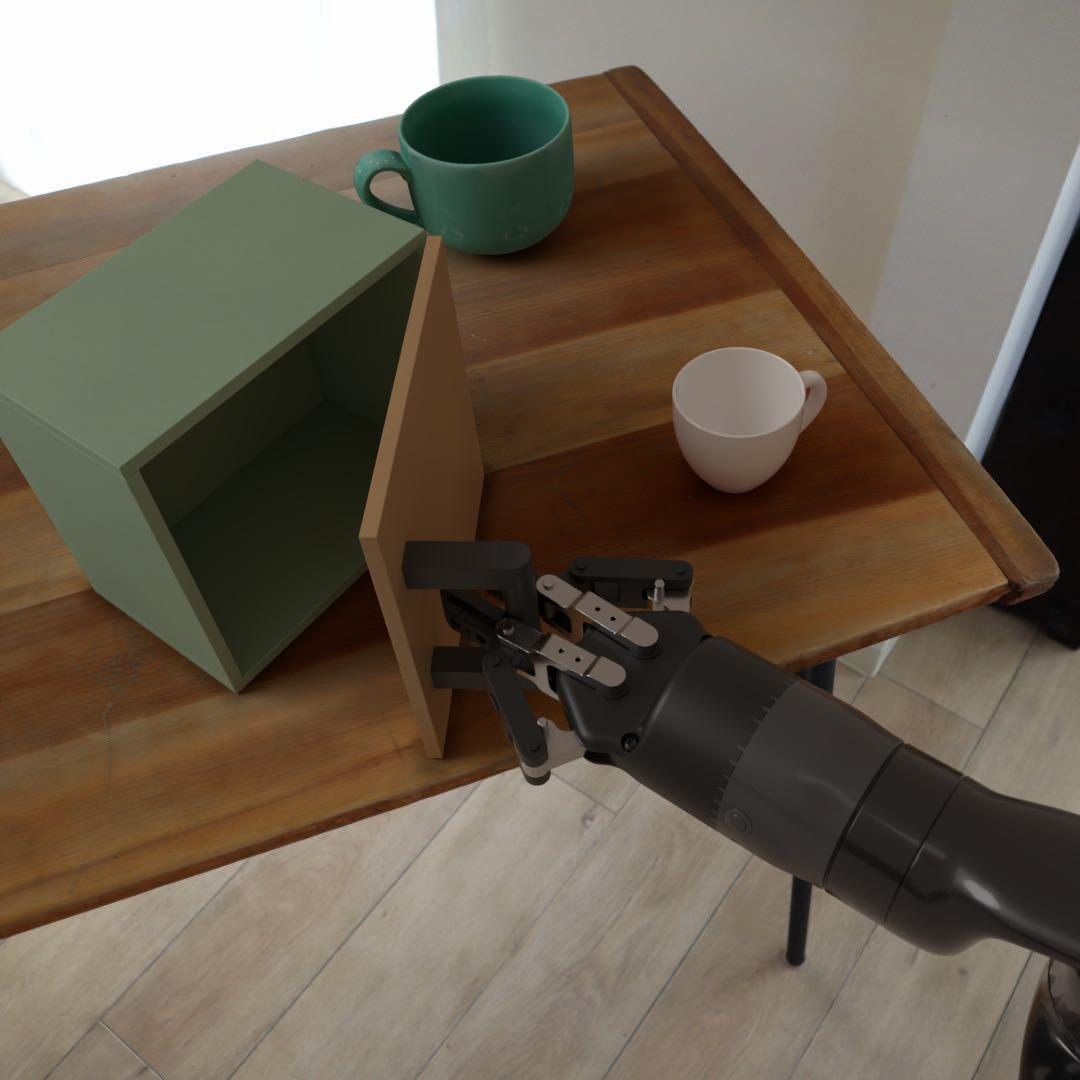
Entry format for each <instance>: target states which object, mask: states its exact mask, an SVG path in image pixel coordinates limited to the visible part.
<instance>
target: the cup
mask: <svg viewBox="0 0 1080 1080" xmlns="http://www.w3.org/2000/svg"><path fill="white" fill-rule="evenodd" d="M827 386H828V385H827V383H826V380H825V379H824V377H823V376H822V374H820V373H819V372H818V371H816V370H812V369H809V370H808V369H807V370H801V371H798V370H797V369H796V368H795V367H794V366H793V365H792V364H791V363H790V362H789V361H787V360H786V359H784V358H783V357H781V356H779V355H777V354H775V353H771V352H769V351H766V350H762V349H759V348H753V347H744V346H738V347H737V346H733V347H722V348H718V349H714V350H710V351H707V352H703V353H702V354H699V355H698V356H696V357H694V358H693V359H691V360H689V361H688V362H687V363H686V364H685V365H683V367H682V368H681V369H680V370H679V371H678V373H677V375H676V376H675V379H674V381H673V384H672V390H671V410H672V411H671V412H672V413H671V414H672V424H673V431H674V435H675V438H676V442H677V445H678V446H679V450H680V452H681V454H682V456H683V458H684V460H685V461H686V463H687V464H688V466H689V467H690V469H691V470H692V471H693V472H694V473H695V474H696V476H698V477H699V478H700V479H701V480H702V481H704V482H705V483H706V484H707V485H708V486H710V487H712V488H713V489H715V490H717V491H718V492H719V491H720V492H722V493H727V494H743V493H747V492H749V491H752V490H754V489H756V488H758V487H759V486H761V485H763V484H764V483H766V482H767V481H769V480H770V479H771V478H772V477H774V476H775V475H776V474H777V473H778V472H779V471H780V469H781V468H782V467H783V466H784V465H785V463H786V462H787V460H788V459H789V458H790V456H791V454H792V453H793V450H794V449H795V446H796V444H797V441H798V439H799V436H800V435H801V434H802V433H803V432H804V431H805V430H806V429H807V428H808V427H809V425H810V424H811V423H812V422H813V421H814V420H815V419H816V418H817V416H818V415H819V414H820V412H821V411H822V409H823V407H824V405H825V402H826V400H827V397H828V396H827V395H828V387H827ZM808 388H809V394H808V397H807V390H806V389H808ZM806 397H807V398H806Z"/></svg>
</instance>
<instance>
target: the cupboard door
mask: <svg viewBox="0 0 1080 1080" xmlns="http://www.w3.org/2000/svg"><path fill="white" fill-rule="evenodd" d="M426 238H427V241H426V246H425V250H424V254H423V259H422V263H421V268H420V272H419V276H418V281H417V285H416V289H415V294H414V298H413V302H412V307H411V311H410V316H409V320H408V324H407V329H406V333H405V337H404V342H403V346H402V350H401V355H400V359H399V364H398V368H397V372H396V377H395V381H394V385H393V390H392V394H391V398H390V403H389V407H388V412H387V416H386V420H385V425H384V429H383V433H382V438H381V442H380V446H379V451H378V455H377V460H376V464H375V468H374V473H373V477H372V481H371V486H370V490H369V494H368V499H367V503H366V508H365V512H364V516H363V521H362V525H361V529H360V534H359V540H360V543H361V546H362V549H363V552H364V556H365V559H366V562H367V565H368V568H369V569H368V571H369V575H370V577H371V581H372V584H373V587H374V591H375V594H376V597H377V600H378V604H379V606H380V609H381V612H382V616H383V619H384V622H385V626H386V629H387V631H388V634H389V638H390V641H391V644H392V648H393V650H394V654H395V657H396V660H397V663H398V667H399V670H400V673H401V676H402V679H403V682H404V686H405V689H406V692H407V695H408V699H409V702H410V705H411V707H412V711H413V714H414V718H415V720H416V724H417V727H418V730H419V733H420V736H421V740H422V743H423V746H424V749H425V752H426V756H427V758H428V759H443V758H444V751H445V745H446V738H447V730H448V723H449V717H450V710H451V703H452V697H453V690H479V691H481V690H483V691H484V690H486V691H487V687H486V682H485V677H484V672H483V667H482V660H483V658H484V656H485V655H486V654H488V653H489V651H488V650H486V649H484V648H483V647H481V646H465V645H463V646H461V645H460V643H461V641H460V640H461V637H462V635H461V633H458V632H456V631H455V630H453V629H452V628H451V627H450V626H449V624H448V623H447V621H446V619H445V614H444V610H443V606H442V601H441V596H440V592H439V591H440V589H455V590H471V591H474V590H475V591H483V590H502V595H503V601H504V603H503V606H504V610H505V611H506V612H507V616H508V618H512V619H515V620H517V621H519V622H521V623H523V624H525V625H527V626H529V627H531V628H532V629H534V630H536V631H538V632H540V633H542V634H544V633H543V627H542V626H543V625H542V620H541V618H540V611H539V604H538V597H537V590H536V583H535V576H534V571H535V570H534V564H533V563H534V562H533V556H532V555H533V554H532V551H531V548H530V547H529V546H528V545H527V544H526V543H524V542H521V541H517V540H516V541H513V540H512V541H507V540H504V541H503V540H502V541H501V540H498V541H497V540H476V534H477V527H478V521H479V514H480V507H481V499H482V494H483V493H482V492H483V486H484V479H485V469H484V464H483V459H482V453H481V447H480V442H479V441H480V440H479V436H478V432H477V431H478V430H477V429H478V428H477V424H476V418H475V413H474V406H473V402H472V395H471V389H470V384H469V379H468V373H467V369H466V368H467V367H466V363H465V362H466V361H465V356H464V351H463V345H462V340H461V339H462V338H461V334H460V326H459V322H458V316H457V312H456V311H457V310H456V304H455V299H454V294H453V287H452V283H451V277H450V272H449V265H448V261H447V253H446V249H445V244H444V242H443V237H442V236H432V235H428V236H426ZM516 677H517V679H518V682H519V684H520V686H521V688H522V690H523V691H527V692H528V691H532V692H533V691H540V689H539V688H538V687H537V685H536V684H535V683H534V682H533V681H531V680H529V679H527V678H526V677H524V676H522V675H520V674H518V673H517V674H516Z"/></svg>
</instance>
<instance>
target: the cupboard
mask: <svg viewBox="0 0 1080 1080" xmlns="http://www.w3.org/2000/svg"><path fill="white" fill-rule="evenodd" d="M426 241H427V234H426V231H425V229H423V228H421V227H418V226H416V225H413V224H411V223H409V222H406V221H404V220H401V219H399V218H397V217H394V216H392V215H389V214H387V213H385V212H382V211H380V210H378V209H375V208H373V207H370V206H368V205H366V204H363V203H362V201H358V200H356V199H353V198H351V197H349V196H346V195H344V194H342V193H339V192H338V191H334V190H332V189H330V188H327V187H325V186H323V185H320V184H317V183H315V182H314V181H310V180H308V179H306V178H304V177H301V176H298V175H296V174H294V173H291V172H290V171H287V170H284V169H282V168H280V167H277V166H274V165H273V164H270V163H267V162H266V161H263V160H260V159H257V158H256V159H255V160H253V161H252V162H250V163H249V164H248V165H246V166H245V167H243V168H241V169H240V170H239V171H237V172H236V173H234V174H233V175H231V176H229V177H228V178H227V179H225V180H224V181H222V182H221V183H219V184H218V185H216V186H215V187H214V188H212V189H210V190H209V191H207V192H206V193H204V194H203V195H202V196H201V195H200V197H198V198H197V199H195V200H194V201H193V202H191V203H189V204H188V205H186V206H185V207H184V208H182V209H181V210H179V211H178V212H176V213H175V214H173V215H172V216H170V217H169V218H167V219H165V220H164V221H162V222H161V223H160V224H158V225H157V226H155V227H154V228H152V229H151V230H149V231H148V232H146V233H145V234H143V235H141V237H139V238H137V239H135V241H133V242H131V243H130V244H128V245H127V246H125V247H124V248H123V249H120V250H119V251H118V252H116V253H114V255H112V256H111V257H109V258H107V259H106V260H105V261H103V262H102V263H100V264H99V265H97V266H95V267H94V268H93V269H91V270H89V271H88V272H87V273H85V274H84V275H82V276H81V277H78V279H76V280H75V281H73V282H72V283H70V284H68V285H67V286H66V287H64V288H63V289H61V290H60V291H59V292H57V293H55V294H54V295H52V296H51V297H49V298H48V299H46V300H45V301H43V302H42V303H41V304H39V305H38V306H36V307H35V308H33V309H32V310H30V311H29V312H27V313H25V314H24V315H23V316H21V317H20V318H18V319H17V320H15V321H14V322H12V323H11V324H9V325H8V326H7V327H4V328H3V329H2V330H1V331H0V440H1V441H2V442H3V444H4V446H5V447H6V449H7V451H8V453H9V454H10V455H11V457H12V459H13V460H14V462H15V463H16V465H17V467H18V468H19V470H20V472H21V474H22V475H23V476H24V478H25V480H26V481H27V483H28V485H29V486H30V488H31V490H32V492H33V493H34V495H35V496H36V498H37V500H38V501H39V502H40V504H41V506H42V507H43V509H44V510H45V512H46V514H47V516H48V518H49V520H51V522H52V524H53V525H54V527H55V529H56V530H57V532H58V533H59V535H60V537H61V538H62V540H63V541H64V544H65V545H66V546H67V548H68V550H69V552H70V553H71V554H72V556H73V558H74V559H75V561H76V563H77V564H78V566H79V568H80V569H81V571H82V573H83V574H84V577H86V579H87V581H88V582H89V584H90V586H91V587H92V589H93V590H94V592H95V593H97V594H98V595H99V596H101V597H102V598H103V599H105V600H107V602H108V603H111V605H113V606H114V607H116V608H117V609H118V610H120V611H122V612H123V613H124V614H126V615H127V616H128V617H130V618H131V619H132V620H134V621H135V622H137V623H138V624H139V625H141V626H142V627H143V628H145V630H148V632H151V633H152V634H153V635H154V636H156V637H157V638H159V640H161V641H163V642H164V643H166V644H167V645H168V646H170V647H171V648H172V649H174V650H175V651H177V652H178V653H179V654H180V655H182V656H184V657H185V658H186V659H187V660H189V661H190V662H192V663H193V664H195V665H196V666H197V667H198V668H200V669H201V670H203V671H204V672H205V673H206V674H208V675H210V676H211V677H212V678H213V679H214V680H217V681H218V682H219V683H220V684H222V685H223V686H225V687H226V688H228V689H229V690H230V691H231V692H233V693H234V694H236V695H238V694H239V693H240V692H241V691H242V690H243V689H244V688H245V687H246V686H248V684H250V683H251V681H253V680H254V679H255V678H256V677H257V676H258V675H259V674H260V673H261V672H262V671H264V669H265V668H266V667H267V666H268V665H269V664H271V662H272V661H273V660H275V659H276V658H277V657H278V656H279V655H280V653H282V652H283V651H284V650H285V649H287V648H288V646H289V645H291V643H292V642H294V641H295V640H296V639H297V638H298V637H299V636H300V635H301V634H302V633H303V632H305V630H306V629H307V628H308V627H310V626H311V624H312V623H314V621H315V620H316V619H318V618H319V617H320V616H321V615H322V614H323V613H324V612H325V611H326V610H327V609H328V608H329V607H330V606H331V605H332V604H333V603H335V601H336V600H338V599H339V598H340V596H342V595H343V594H344V593H345V592H346V591H347V590H348V589H349V588H350V587H351V586H352V585H353V584H354V583H356V581H358V580H359V579H360V578H361V577H362V576H363V575H364V574H365V573H366V572H367V571H369V568H368V565H367V562H366V559H365V556H364V552H363V549H362V546H361V543H360V540H359V534H360V529H361V525H362V521H363V516H364V512H365V508H366V503H367V499H368V494H369V490H370V486H371V481H372V477H373V473H374V468H375V464H376V460H377V455H378V451H379V446H380V442H381V438H382V433H383V429H384V425H385V420H386V416H387V412H388V407H389V403H390V398H391V394H392V390H393V385H394V381H395V377H396V372H397V368H398V364H399V359H400V355H401V350H402V346H403V342H404V337H405V333H406V329H407V324H408V320H409V316H410V311H411V307H412V302H413V298H414V294H415V289H416V285H417V281H418V276H419V272H420V268H421V263H422V259H423V254H424V250H425V246H426Z"/></svg>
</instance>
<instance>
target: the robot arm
mask: <svg viewBox="0 0 1080 1080" xmlns="http://www.w3.org/2000/svg"><path fill="white" fill-rule="evenodd" d="M534 576H535V583H536V590H537V597H538V604H539V611H540V618H541V622H543V623H545V624H546V625H548V626H550V627H551V628H552V629H553V630H555V631H557V632H558V633H560V634H562V635H563V636H564V637H566V638H567V639H569V640H567V639H565V638H563V637H561V636H559V635H557V634H555V633H554V632H547V633H546V634H545V633H543V634H542V633H540V632H538V631H536V630H534V629H532V628H531V627H529V626H527V625H525V624H523V623H521V622H519V621H517V620H515V619H512V618H508V616H507V612H506V611H505V609H504V608H502V607H500V606H498V605H496V604H494V603H493V602H491V601H490V600H488V599H486V598H485V597H482V596H481V595H479V594H478V593H476V592H474V591H473V590H455V589H440V591H439V592H440V596H441V601H442V606H443V610H444V614H445V619H446V621H447V623H448V624H449V626H450V627H451V628H452V629H453V630H455V631H456V632H458V633H461V636H462V637H465V638H467V639H468V640H470V641H471V642H473V643H475V644H476V645H477V646H478V647H483V648H484V649H486V650H488V651H489V653H488V654H486V655H485V656H484V658H483V660H482V667H483V672H484V677H485V682H486V687H487V690H486V692H487V695H488V697H489V699H490V702H491V704H492V707H493V709H494V711H495V713H496V716H497V718H498V720H499V723H500V725H501V727H502V729H503V730H502V731H503V732H504V734H505V736H506V738H507V741H508V744H509V745H510V748H511V750H512V752H513V754H514V757H515V759H516V762H517V764H518V766H519V769H520V770H521V773H522V775H523V778H524V780H525V781H526V782H527V784H529V785H531V786H535V787H540V786H543V785H545V784H547V783H548V781H549V780H550V779H551V776H552V770H553V769H556V768H558V767H561V766H563V765H565V764H568V763H571V762H574V761H576V760H579V759H581V758H583V759H585V761H587V762H588V763H591V764H594V765H600V766H609V767H613V768H617V769H619V770H621V771H623V772H625V773H626V774H627V775H629V776H630V777H631V778H632V779H634V780H635V781H636V782H638V783H639V784H641V785H642V786H643V787H645V788H646V789H648V790H650V791H652V792H653V793H654V794H656V795H658V796H660V797H661V798H663V799H665V800H666V801H668V802H669V803H670V804H672V805H673V806H675V807H677V808H679V809H681V810H682V811H683V812H685V813H686V814H688V815H690V816H692V817H693V818H695V819H696V820H697V821H699V822H701V823H702V824H704V825H706V826H707V827H709V828H711V829H712V830H714V832H715V831H716V832H717V833H719V834H721V835H722V836H724V837H725V838H726V839H728V840H730V841H732V842H733V843H735V844H736V845H738V846H739V847H741V848H742V849H744V850H746V851H747V852H748V853H751V854H752V855H754V856H755V857H757V858H758V859H760V860H762V861H764V862H765V863H767V864H769V865H771V866H772V867H774V868H776V869H779V870H781V871H782V872H785V873H787V874H789V875H792V876H794V877H796V878H797V879H800V880H802V881H805V882H806V883H809V884H811V885H812V886H814V887H816V888H818V889H820V890H824V892H826V893H827V894H829V895H830V896H831V897H833V898H835V899H836V900H838V901H840V902H841V903H843V904H845V905H846V906H848V907H849V908H851V909H852V910H853V911H855V912H857V913H858V914H860V915H862V916H864V917H865V918H867V919H868V920H870V921H872V922H873V923H874V924H876V925H878V926H880V927H881V928H882V927H883V929H885V930H886V931H887V932H889V933H890V934H892V935H894V936H895V937H897V938H898V939H900V940H903V941H904V942H906V943H908V944H909V945H911V946H913V947H914V948H917V949H919V950H921V951H924V952H926V953H928V954H931V955H934V956H938V957H954V956H957V955H960V954H963V952H966V951H967V950H969V949H970V948H972V947H974V946H975V945H976V944H978V943H980V942H982V941H985V940H999V941H1002V942H1006V943H1008V944H1012V945H1014V946H1017V947H1020V948H1023V949H1025V950H1028V951H1030V952H1033V953H1035V954H1039V955H1041V956H1044V957H1046V958H1048V959H1047V961H1046V963H1045V965H1044V967H1043V969H1042V971H1041V972H1040V973H1041V974H1040V976H1039V978H1038V981H1037V983H1036V986H1035V989H1034V992H1033V996H1032V999H1031V1002H1030V1006H1029V1008H1028V1009H1029V1010H1028V1013H1027V1017H1026V1021H1025V1025H1024V1030H1023V1036H1022V1040H1021V1041H1022V1042H1021V1047H1020V1056H1019V1063H1018V1064H1019V1065H1018V1073H1017V1080H1080V814H1079V813H1076V812H1073V811H1069V810H1066V809H1062V808H1059V807H1057V806H1056V807H1055V806H1052V805H1048V804H1044V803H1039V802H1034V801H1031V800H1026V799H1022V798H1018V797H1016V796H1015V797H1014V796H1011V795H1007V794H1003V793H1002V792H998V791H996V790H993V789H991V788H989V787H987V785H985V784H983V783H981V782H979V781H978V780H977V779H974V778H973V777H971V776H969V775H966V773H964V772H962V771H961V770H959V769H957V768H955V767H954V766H951V765H950V764H948V763H945V762H944V761H942V760H940V759H939V758H937V757H935V756H933V755H931V754H929V753H927V752H925V751H924V750H922V749H920V748H918V747H917V746H915V745H913V744H911V743H909V742H905V741H904V739H902V738H901V737H899V736H897V735H896V734H894V733H892V732H891V731H889V730H888V729H886V728H885V727H883V726H882V725H881V724H880V723H878V722H877V721H876V720H875V719H873V718H872V717H870V716H869V715H867V714H866V713H864V711H861V710H860V709H858V708H857V707H855V706H853V705H851V704H849V703H848V702H846V701H844V700H842V699H841V698H839V697H837V696H835V695H834V694H832V693H831V692H830V691H828V690H826V689H824V688H821V687H818V686H816V685H815V684H813V683H811V682H809V681H808V680H806V679H804V678H802V677H800V676H798V675H796V674H795V673H793V672H790V671H788V670H787V669H785V668H783V667H782V666H779V665H778V664H775V663H774V662H773V661H770V660H769V659H766V658H765V657H763V656H760V655H759V654H757V653H756V652H754V651H752V650H750V649H749V648H746V647H745V646H743V645H741V644H739V643H737V642H735V641H734V640H731V639H730V638H727V637H725V636H720V635H715V636H713V634H711V633H710V632H708V631H707V630H706V628H705V627H704V626H703V624H702V622H701V621H700V619H698V618H697V617H696V616H695V615H694V614H692V613H690V607H691V605H692V604H693V595H694V583H695V582H694V581H695V580H694V567H693V566H692V563H690V562H689V561H686V560H683V559H682V560H681V559H680V560H679V559H659V558H657V559H656V558H655V559H654V558H634V557H633V558H632V557H608V556H586V555H585V556H583V555H582V556H581V555H579V556H576V557H574V558H572V559H571V560H570V561H569V563H568V568H567V569H566V570H564V571H562V572H560V573H558V574H556V575H554V574H544V575H543V574H540V573H539V572H537V571H535V570H534ZM482 591H483V592H485V593H487V594H488V595H490V596H491V597H493V598H495V599H497V600H498V601H500V602H502V603H503V604H504V601H503V595H502V590H482ZM621 608H622V609H623V608H624V609H642V610H639V611H637V610H636V611H623V610H622V609H621ZM644 609H645V610H644ZM517 673H518V674H520V675H522V676H524V677H526V678H527V679H529V680H531V681H533V682H534V683H535V684H536V685H537V687H538V688H539V691H541V692H542V693H544V694H545V695H547V696H549V697H551V698H552V699H554V700H556V701H558V702H559V703H560V705H561V709H562V712H563V714H564V716H565V719H566V722H567V725H568V727H569V730H564V729H561V728H559V727H558V726H557V725H556V724H555V722H554V721H553V720H551V719H549V718H546V717H544V716H540V717H538V718H536V716H535V714H534V712H533V710H532V707H531V706H530V703H529V701H528V698H527V697H526V695H525V693H524V690H522V688H521V686H520V684H519V682H518V679H517V677H516V674H517Z"/></svg>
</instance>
